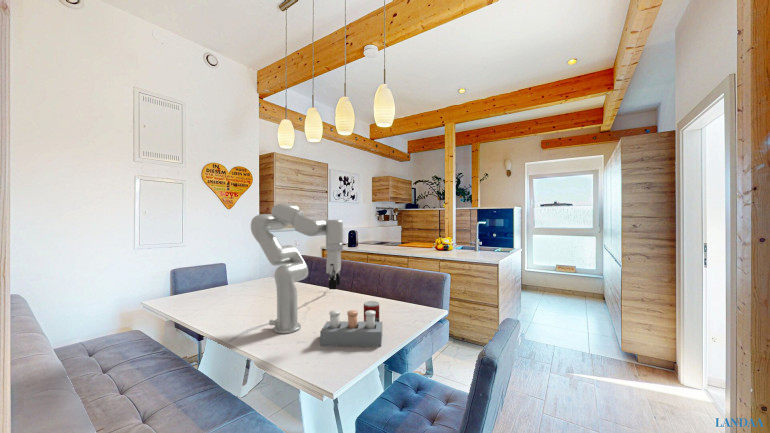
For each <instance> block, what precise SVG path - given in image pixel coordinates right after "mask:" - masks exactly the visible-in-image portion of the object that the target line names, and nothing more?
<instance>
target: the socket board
mask: <svg viewBox="0 0 770 433" xmlns="http://www.w3.org/2000/svg"><path fill="white" fill-rule="evenodd" d="M319 333H320V334H319V336H320V337H319V340H320V341H319V342H320V346H323V347H324V346H325V347H326V346H327V347H330V346H331V347H332V346H334V347H382V341H383V321H379V322H375V329H366V322H364V321H357V329H348V321H340V320H339V329H332V328H330V320H329V321H327V320H326V322H325V324H324V325H323V326H322V328H321V330H320V331H319Z"/></svg>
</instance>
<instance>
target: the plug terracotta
mask: <svg viewBox="0 0 770 433" xmlns="http://www.w3.org/2000/svg"><path fill="white" fill-rule="evenodd" d="M358 314H359V312H358V310H356V309H355V310H354V309H352V310H348V311H347V322H348V329H357V322H358Z"/></svg>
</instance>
